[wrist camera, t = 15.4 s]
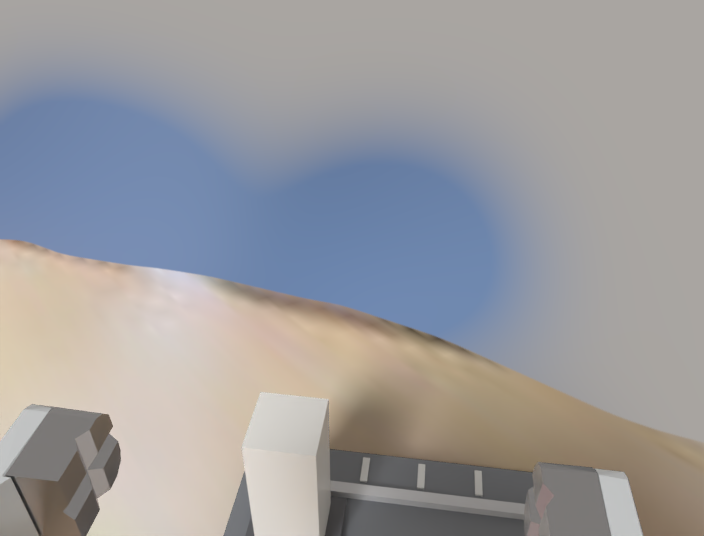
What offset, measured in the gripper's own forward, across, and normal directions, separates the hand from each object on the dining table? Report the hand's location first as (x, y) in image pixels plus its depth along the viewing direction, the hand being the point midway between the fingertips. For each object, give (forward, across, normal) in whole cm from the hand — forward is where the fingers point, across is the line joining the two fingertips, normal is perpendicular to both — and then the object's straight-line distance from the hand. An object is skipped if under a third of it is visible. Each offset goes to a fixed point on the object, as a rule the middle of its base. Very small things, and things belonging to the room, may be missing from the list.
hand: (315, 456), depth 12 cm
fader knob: (+15, +5, +28) cm, 32 cm away
